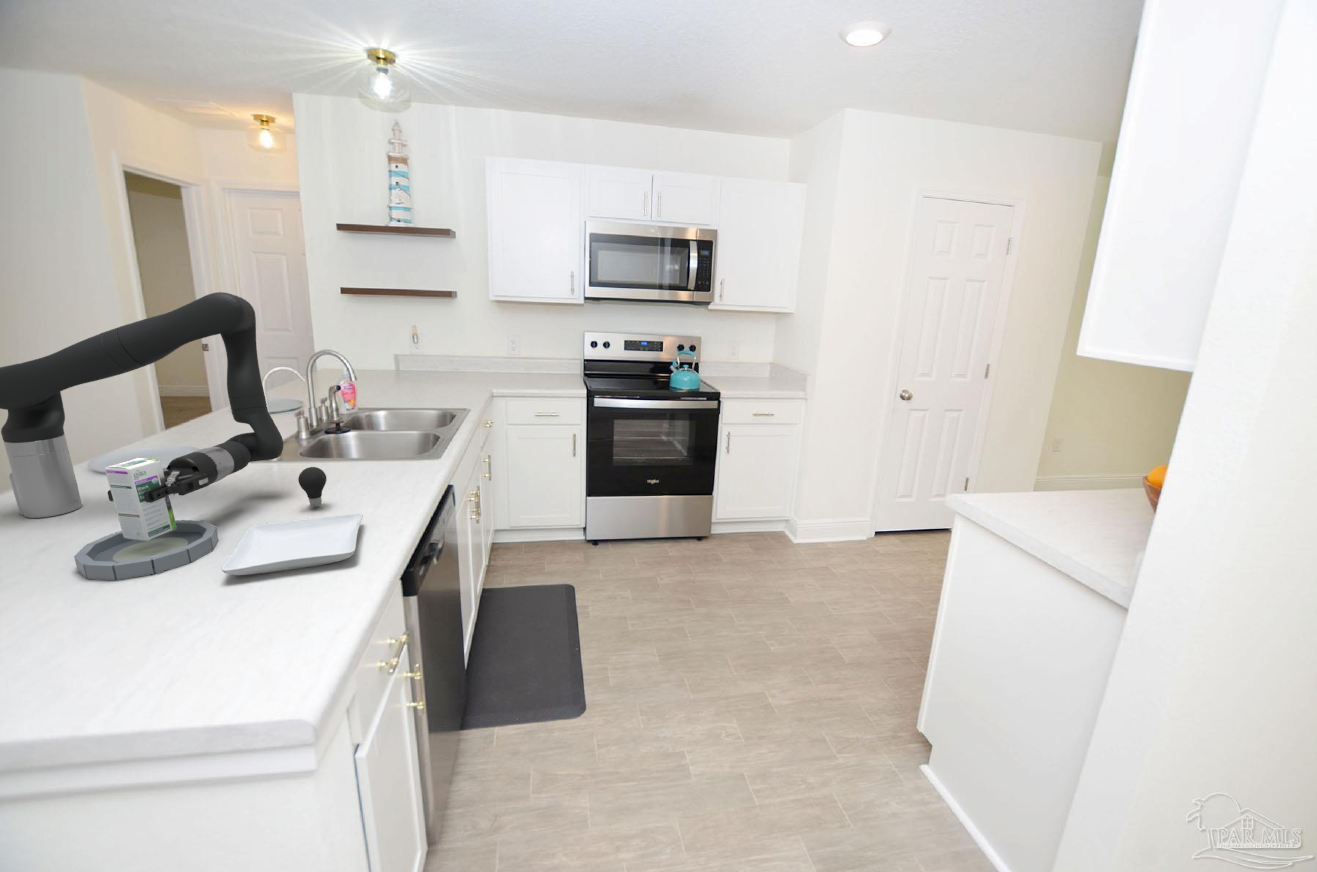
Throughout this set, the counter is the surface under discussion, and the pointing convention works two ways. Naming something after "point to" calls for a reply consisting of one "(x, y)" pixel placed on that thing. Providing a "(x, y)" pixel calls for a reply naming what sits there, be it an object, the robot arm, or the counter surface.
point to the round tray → (146, 552)
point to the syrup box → (140, 499)
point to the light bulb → (313, 484)
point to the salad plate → (294, 544)
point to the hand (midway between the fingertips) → (128, 497)
